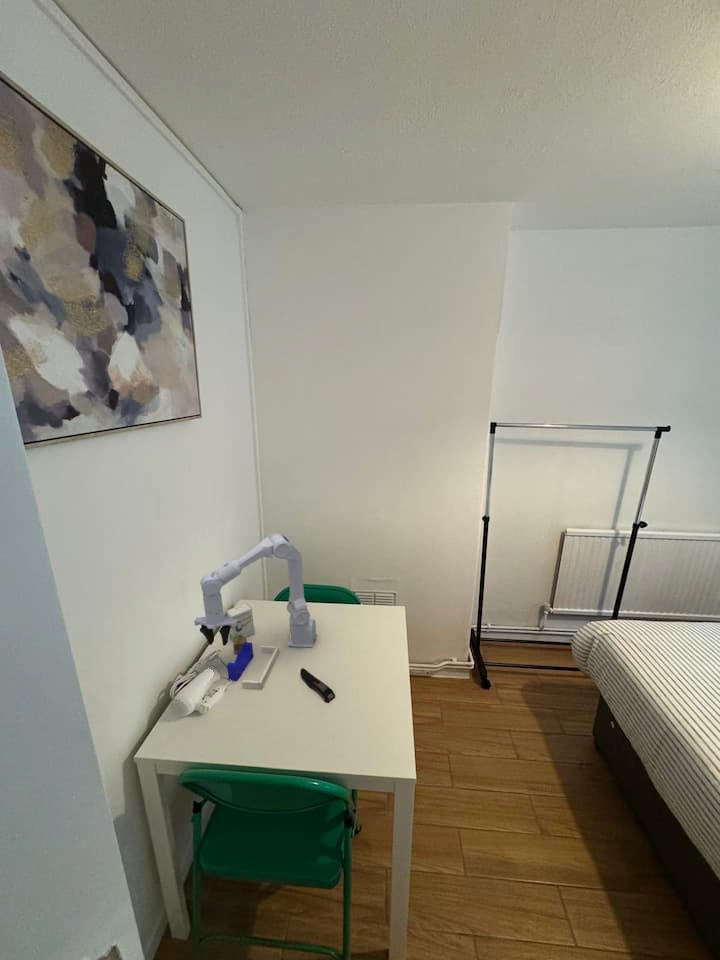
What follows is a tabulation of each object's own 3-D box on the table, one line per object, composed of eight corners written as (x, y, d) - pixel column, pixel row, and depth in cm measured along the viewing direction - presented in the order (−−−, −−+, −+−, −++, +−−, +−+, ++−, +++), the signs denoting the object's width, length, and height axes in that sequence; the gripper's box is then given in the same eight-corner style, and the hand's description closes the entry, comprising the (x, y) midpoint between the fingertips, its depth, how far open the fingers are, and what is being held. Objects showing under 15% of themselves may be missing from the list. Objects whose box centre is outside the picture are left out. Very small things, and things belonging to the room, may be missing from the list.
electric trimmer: (307, 672, 128) (306, 664, 128) (336, 697, 117) (335, 689, 117) (298, 678, 126) (297, 670, 125) (327, 704, 115) (326, 696, 114)
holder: (279, 652, 138) (278, 646, 137) (261, 689, 121) (260, 683, 121) (262, 651, 139) (261, 645, 138) (242, 688, 122) (241, 681, 121)
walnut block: (247, 645, 142) (246, 636, 141) (245, 652, 138) (244, 643, 137) (236, 647, 142) (235, 637, 141) (234, 654, 138) (233, 644, 137)
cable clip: (242, 655, 137) (240, 641, 136) (253, 656, 136) (251, 642, 135) (224, 680, 126) (222, 665, 124) (237, 681, 125) (235, 666, 123)
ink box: (250, 628, 153) (247, 602, 150) (255, 634, 149) (252, 607, 146) (229, 637, 148) (225, 610, 145) (234, 643, 144) (230, 616, 141)
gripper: (187, 614, 123) (192, 650, 127) (228, 616, 122) (233, 652, 125) (198, 602, 130) (203, 636, 133) (238, 604, 128) (242, 638, 132)
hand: (218, 643), depth 130 cm, fingers open, 4 cm apart
